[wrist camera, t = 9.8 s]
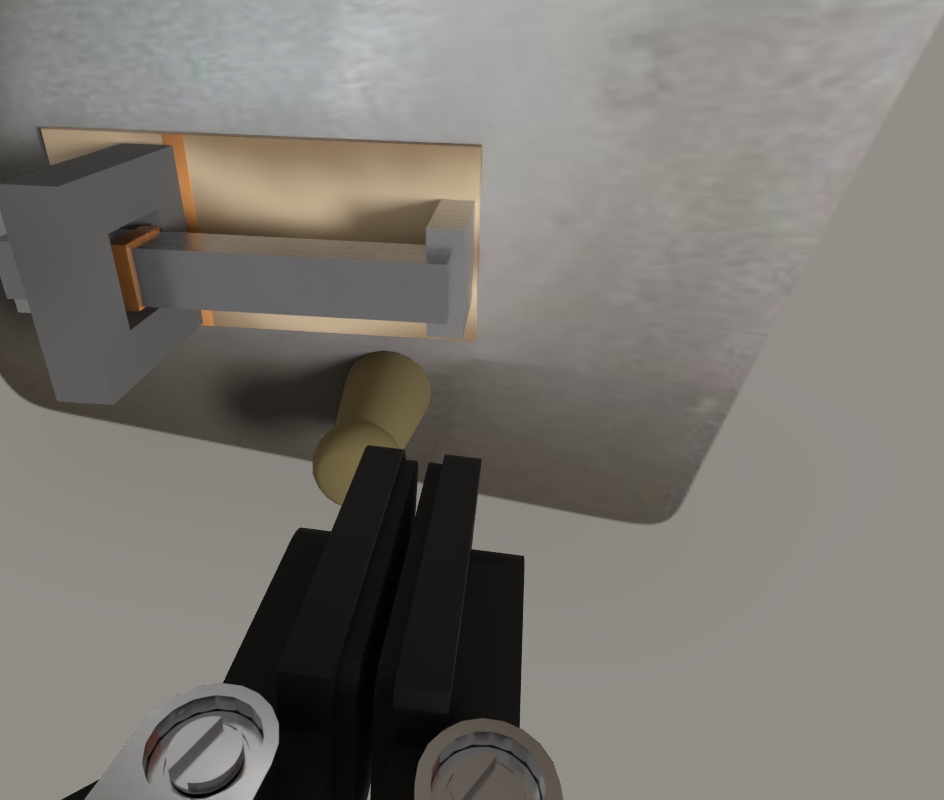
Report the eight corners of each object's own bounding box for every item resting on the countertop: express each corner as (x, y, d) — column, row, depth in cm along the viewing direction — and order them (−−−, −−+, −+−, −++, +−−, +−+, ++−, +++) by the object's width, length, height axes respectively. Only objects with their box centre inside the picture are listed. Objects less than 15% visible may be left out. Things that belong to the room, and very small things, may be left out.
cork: (352, 427, 50) (308, 525, 41) (339, 351, 47) (288, 437, 38) (435, 426, 50) (410, 526, 40) (426, 349, 47) (397, 436, 37)
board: (49, 126, 42) (40, 128, 41) (482, 145, 40) (481, 147, 39) (96, 313, 48) (88, 318, 47) (475, 336, 46) (475, 341, 45)
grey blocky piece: (58, 181, 42) (-37, 214, 36) (475, 200, 41) (461, 239, 34) (82, 275, 45) (-1, 323, 38) (472, 297, 44) (459, 351, 37)
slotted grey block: (122, 143, 40) (-8, 183, 31) (172, 145, 40) (57, 186, 31) (158, 319, 46) (57, 401, 36) (203, 322, 46) (113, 405, 36)
